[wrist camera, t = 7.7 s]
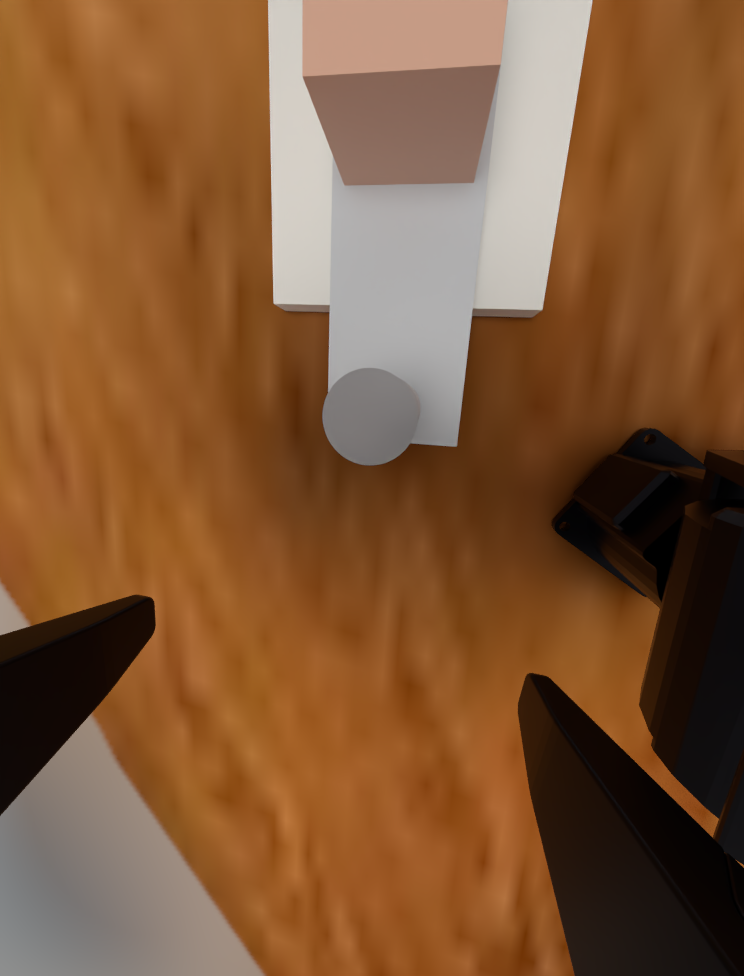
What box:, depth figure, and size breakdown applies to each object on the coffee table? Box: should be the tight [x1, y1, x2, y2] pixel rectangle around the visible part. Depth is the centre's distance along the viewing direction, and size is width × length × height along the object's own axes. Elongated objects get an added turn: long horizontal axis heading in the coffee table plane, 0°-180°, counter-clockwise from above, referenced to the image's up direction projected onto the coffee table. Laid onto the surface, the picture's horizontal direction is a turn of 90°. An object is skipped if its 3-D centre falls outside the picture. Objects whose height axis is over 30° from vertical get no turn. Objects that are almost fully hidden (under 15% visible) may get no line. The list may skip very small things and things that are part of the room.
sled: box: [302, 0, 508, 465], centre depth 11 cm, size 16×6×8 cm, turn 177°
